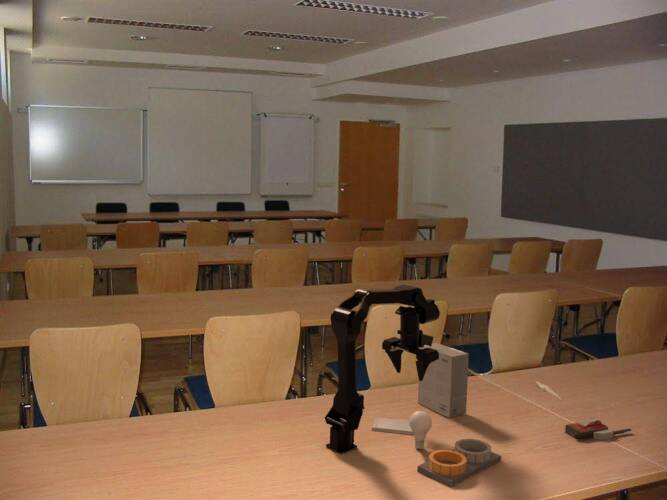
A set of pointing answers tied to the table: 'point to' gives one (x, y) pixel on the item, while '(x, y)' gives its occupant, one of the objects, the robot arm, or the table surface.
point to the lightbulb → (420, 427)
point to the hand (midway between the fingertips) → (409, 376)
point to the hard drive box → (445, 382)
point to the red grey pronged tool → (591, 430)
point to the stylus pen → (547, 389)
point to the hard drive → (392, 426)
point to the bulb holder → (459, 461)
